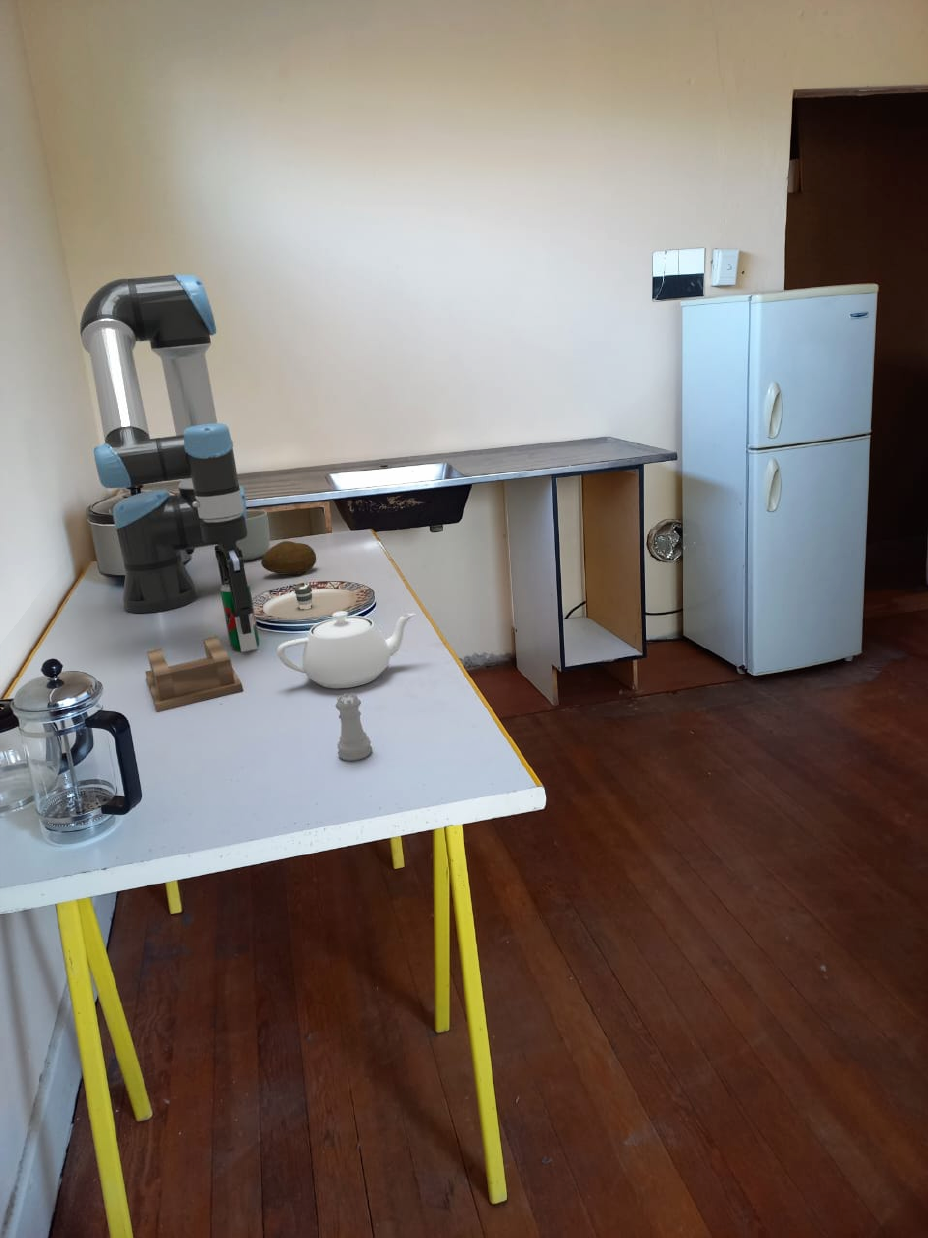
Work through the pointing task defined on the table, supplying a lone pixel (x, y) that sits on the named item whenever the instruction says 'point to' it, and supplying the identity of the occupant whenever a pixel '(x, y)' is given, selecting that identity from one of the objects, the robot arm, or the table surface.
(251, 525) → the planter
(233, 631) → the soda can
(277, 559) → the potato
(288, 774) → the table surface
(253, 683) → the table surface
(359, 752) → the rook chess piece
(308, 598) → the coffee cup
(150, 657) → the cradle
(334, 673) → the teapot
